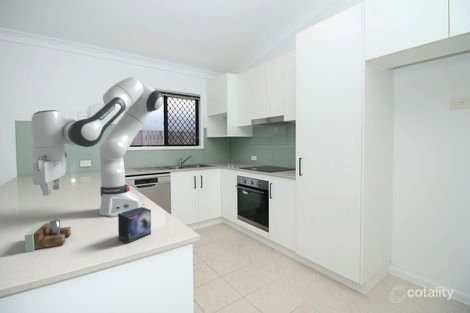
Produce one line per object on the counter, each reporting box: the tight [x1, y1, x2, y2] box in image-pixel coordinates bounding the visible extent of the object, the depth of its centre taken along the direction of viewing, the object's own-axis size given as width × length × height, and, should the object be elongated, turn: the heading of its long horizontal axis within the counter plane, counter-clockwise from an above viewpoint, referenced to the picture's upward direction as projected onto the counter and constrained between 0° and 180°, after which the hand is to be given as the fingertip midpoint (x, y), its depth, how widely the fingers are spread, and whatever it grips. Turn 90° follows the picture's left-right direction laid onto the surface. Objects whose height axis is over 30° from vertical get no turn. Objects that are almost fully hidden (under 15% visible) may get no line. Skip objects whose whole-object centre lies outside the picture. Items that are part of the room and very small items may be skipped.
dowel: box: [49, 219, 61, 236], centre depth 82 cm, size 3×3×8 cm
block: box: [34, 222, 72, 250], centre depth 82 cm, size 8×10×6 cm
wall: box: [24, 221, 47, 253], centre depth 80 cm, size 2×12×6 cm, turn 23°
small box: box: [117, 207, 152, 244], centre depth 87 cm, size 11×6×10 cm, turn 148°
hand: (51, 192), depth 81 cm, fingers open, 8 cm apart
